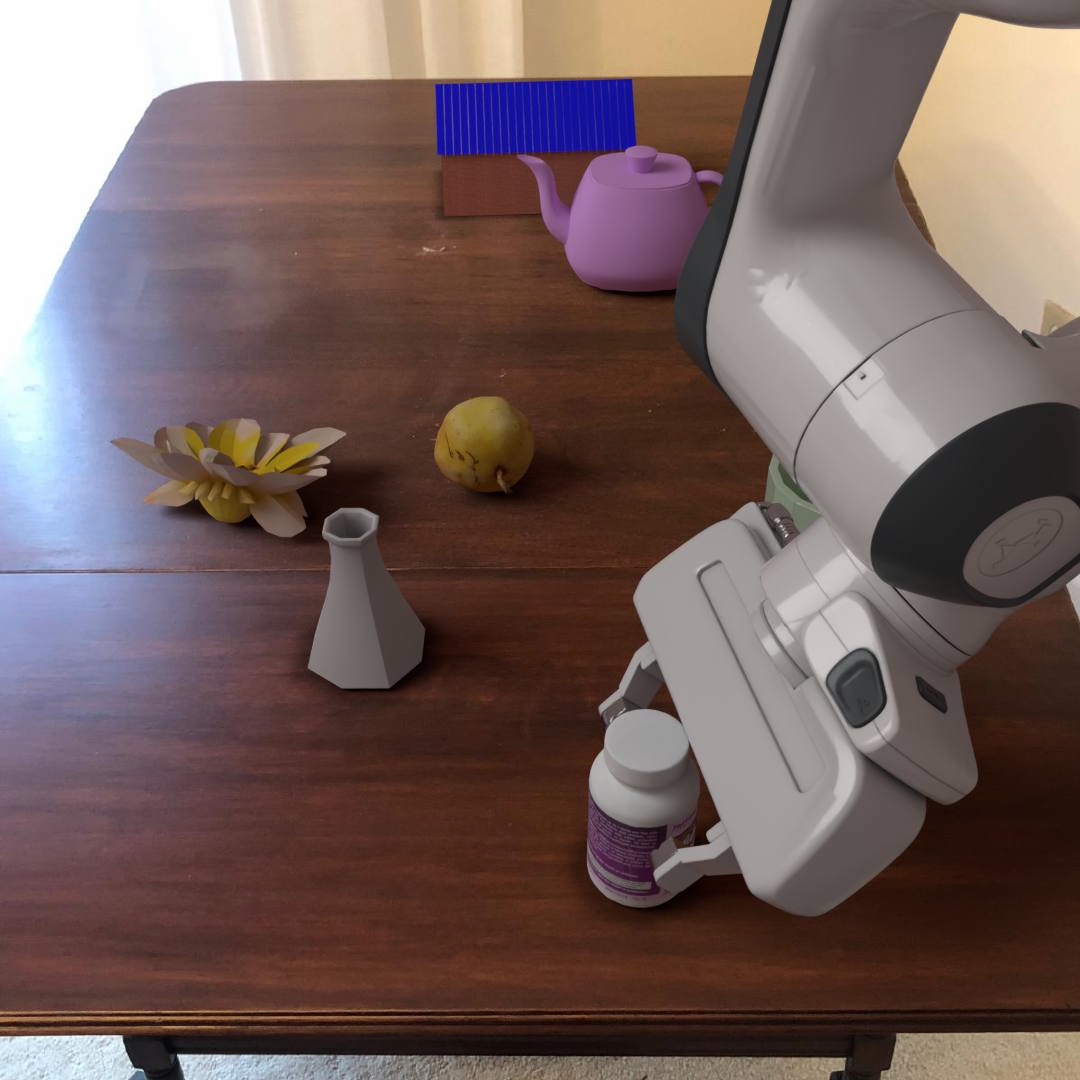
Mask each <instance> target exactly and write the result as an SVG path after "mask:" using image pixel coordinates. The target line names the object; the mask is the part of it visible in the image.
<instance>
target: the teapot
mask: <svg viewBox="0 0 1080 1080" xmlns="http://www.w3.org/2000/svg"><path fill="white" fill-rule="evenodd" d="M517 157H518V158H519V159H520V160H521V161H523V162H524V163H525V164H526V165H527V166H529V167H530V168H531V170H532V171H533V173H534V174H535V177H536V179H537V182H538V186H539V193H540V203H541V211H542V213H541V216H542V220H543V223H544V225H545V226H546V228H547V231H549V233H550V234H551V236H553V237H554V239H556V240H557V241H559V242H560V243H562V245H564V252H565V255H566V258H567V262H568V263H569V266H570V267H571V269H572V270H573V272H574V273H575V274H576V276H577V277H578V278H579V279H580V281H582V282H583V283H585V284H587V285H589V286H591V287H595V288H598V289H600V290H604V291H621V292H638V293H639V292H640V293H641V292H658V291H673V290H677V285H678V280H679V277H680V273H681V270H682V267H683V264H684V261H685V258H686V256H687V253H688V251H689V249H690V246H691V244H692V242H693V240H694V238H695V236H696V234H697V232H698V230H699V228H700V226H701V224H702V222H703V221H704V219H705V217H706V215H707V213H708V211H709V208H708V203H707V201H706V199H705V195H704V192H703V190H702V188H701V185H700V184H705V183H706V184H707V183H712V184H715V185H717V186H718V187H720V185H721V182H722V180H723V177H724V175H723V174H722V173H720V172H718V171H715V170H709V169H707V170H700V171H697V172H695V170H694V169H693V167H692V165H691V163H690V162H689V161H688V160H687V159H686V158H685V157H683V156H681V155H678V154H674V153H667V152H659V151H658V150H657V148H655V147H652V146H649V145H636V146H633V147H630V148H628V149H626V151H625V152H622V153H612V154H606V155H602V156H599V157H597V158H595V159H594V160H592V161H591V163H590V165H589V166H588V168H587V170H586V172H585V174H584V176H583V178H582V180H581V182H580V184H579V186H578V188H577V191H576V193H575V195H574V198H573V200H572V204H571V207H570V208H569V207H568V206H566V205H565V204H564V203H562V202H561V200H560V199H559V197H558V195H557V192H556V187H555V180H554V176H553V172H552V170H551V168H550V167H549V165H548V164H547V163H546V162H544V161H543V160H541V159H539V158H536V157H532V156H528V155H517Z"/></svg>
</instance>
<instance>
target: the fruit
mask: <svg viewBox="0 0 1080 1080" xmlns="http://www.w3.org/2000/svg"><path fill="white" fill-rule="evenodd" d="M466 396H467V400H465V401H463V402H460V403H459V404H456V405H455V406H453V407H452V409H450V410H449V411H448V413H446V414H445V417H444V418H443V421H442V423H441V426H440V428H439V430H438V432H437V434H436V439H435V444H434V450H433V454H434V456H433V457H434V460H435V463H436V465H437V467H438V468H439V470H440V472H441V474H442V475H443V476H444V477H445V478H446V479H447V480H449V481H451V482H453V483H455V484H457V485H459V486H461V487H462V486H463V487H465V488H467V489H470V490H472V491H476V492H479V493H494V492H504V493H505V494H506V495H508V494H509V495H510V494H513V490H512V489H510V488H511V487H513V486H514V485H516V484H517V483H518V482H519V481H520V480H521V479H522V478H523V477H524V475H525V474H526V472H527V471H528V469H529V467H530V465H531V462H532V459H533V457H534V454H535V440H534V432H533V428H532V425H531V423H530V421H529V420H528V419H527V417H526V416H525V414H523V412H521V411H520V410H519V409H518V408H516V407H514V406H513V405H512V404H511V403H510V402H509V401H507V399H505V398H503V397H500V396H478V397H472V396H471V395H469V394H467V395H466Z"/></svg>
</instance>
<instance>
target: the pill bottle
mask: <svg viewBox="0 0 1080 1080" xmlns="http://www.w3.org/2000/svg"><path fill="white" fill-rule="evenodd" d="M603 744H604V745H603V749H602V750H601V751H600V752H599V753H598V755H596V758H595V759H594V761H593V763H592V764H591V768H590V770H589V771H590V772H589V776H588V810H587V811H588V815H587V845H586V866H587V872H588V875H589V878H590V879H591V881H592V883H593V885H594V886H595V887H596V888H597V889H598V890H599V891H600V892H601V894H603V895H604V896H605V897H606V898H607V899H609V900H611V901H613V902H616V903H618V904H620V905H623V906H626V907H630V908H642V909H645V908H652V907H657V906H659V905H662V904H664V903H667V902H669V901H670V900H671V899H674V898H675V896H677V895H678V894H679V893H680V892H677V893H672V892H669V891H667V890H665V889H663V888H661V887H659V886H657V884H656V881H655V878H654V875H653V872H652V869H651V866H650V863H649V860H648V855H649V853H650V852H651V851H653V850H654V849H659V847H660V845H661V843H663V842H664V841H665V840H667V839H668V838H669V837H671V836H673V837H675V838H677V839H679V840H681V841H682V842H683V843H684V844H689V845H691V846H693V847H694V846H695V837H696V828H697V827H696V826H697V820H698V808H699V800H700V795H701V781H700V779H701V778H700V774H699V770H698V768H697V765H696V763H695V762H694V760H693V758H692V757H691V756H690V750H691V748H690V747H691V744H690V742H689V739H688V737H687V734H686V732H685V729H684V727H683V724H682V722H681V721H679V720H678V719H677V718H675V717H674V716H672V715H671V714H669V713H667V712H663V711H660V710H657V709H652V708H651V709H650V708H647V709H639V710H633V711H629V712H626V713H624V714H622V715H620V716H618V717H617V718H616V719H615V720H614V721H613V722H612V723H611V724H610V725H609V727H608V728H607V731H606V730H605V735H604V743H603Z"/></svg>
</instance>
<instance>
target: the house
mask: <svg viewBox="0 0 1080 1080" xmlns="http://www.w3.org/2000/svg"><path fill="white" fill-rule="evenodd" d="M434 88H435V89H434V91H435V121H436V126H435V127H436V151H437V152H436V154H437V156H440V162H441V163H440V165H441V181H442V182H441V183H442V195H443V197H442V199H443V211H444V214H443V215H444V217H468V216H469V217H470V216H473V217H474V216H504V215H535V214H536V215H537V214H538V215H539V214H541V215H542V211H541V203H540V193H539V186H538V182H537V179H536V177H535V174H534V173H533V171H532V170H531V168H530V167H529V166H527V165H526V164H525V163H524V162H523V161H521V160H520V159H519V158H518V157H517V155H528V156H532V157H536V158H539V159H541V160H543V161H544V162H546V163H547V164H548V165H549V167H550V168H551V170H552V172H553V176H554V180H555V187H556V192H557V195H558V197H559V199H560V200H561V202H562V203H564V204H565V205H566V206H568V207H569V208H570V207H571V204H572V200H573V198H574V195H575V193H576V191H577V188H578V186H579V184H580V182H581V180H582V178H583V176H584V174H585V172H586V170H587V168H588V166H589V165H590V163H591V161H592V160H594V159H595V158H597V157H599V156H602V155H606V154H612V153H622V152H625V151H626V149H628V148H630V147H633V146H637V133H636V119H635V118H636V116H635V103H634V100H635V99H634V86H633V78H614V79H613V78H612V79H607V78H606V79H605V78H604V79H574V80H573V79H571V80H569V79H568V80H539V81H537V80H535V81H500V82H499V81H497V82H464V83H463V82H462V83H461V82H459V83H458V82H457V83H435V84H434Z"/></svg>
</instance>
